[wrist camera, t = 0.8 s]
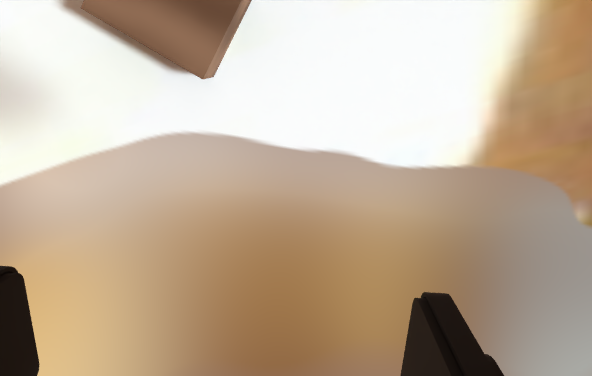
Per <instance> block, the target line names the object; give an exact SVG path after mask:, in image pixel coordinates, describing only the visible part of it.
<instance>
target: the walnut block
mask: <svg viewBox="0 0 592 376" xmlns="http://www.w3.org/2000/svg"><path fill="white" fill-rule="evenodd" d="M250 2H251V0H84V1H83V4H82V7H81V9H83V10H85V11H86V12H88V13H90V14H92V15H93V16H95V17H97V18H98V19H100V20H102V21H104V22H105V23H107V24H109V25H110V26H112V27H114V28H116V29H117V30H119V31H121V32H122V33H124V34H126V35H128V36H129V37H131V38H133V39H134V40H136V41H138V42H140V43H141V44H143V45H145V46H146V47H148V48H150V49H152V50H153V51H155V52H157V53H158V54H160V55H162V56H164V57H165V58H167V59H169V60H170V61H172V62H174V63H176V64H177V65H179V66H181V67H182V68H184V69H186V70H188V71H189V72H191V73H193V74H194V75H196V76H198V77H200V78H201V79H207V78H211V77H214V75H215V73H216V71H217V69H218V67H219V65H220V63H221V61H222V59H223V57H224V55H225V53H226V51H227V49H228V47H229V45H230V43H231V41H232V39H233V37H234V35H235V33H236V31H237V29H238V27H239V25H240V23H241V21H242V19H243V17H244V15H245V13H246V11H247V9H248V6H249V4H250Z"/></svg>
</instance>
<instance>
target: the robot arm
mask: <svg viewBox="0 0 592 376" xmlns="http://www.w3.org/2000/svg"><path fill="white" fill-rule="evenodd" d="M38 371H39V359H38V354H37V348H36V343H35V338H34V332H33V326H32V321H31V316H30V310H29V305H28V300H27V294H26V288H25V283H24V278H23V276H22V275H21V274H19V273H18V271H17V270H16V269H15V268H14V267H9V266H0V376H37V374H38ZM401 376H504V375H503V373H502V371H501V370H500V368H499V367H498V365H497V363H496V362H495V360H494V359H493V358H492V357H491V356H489V355H487V354H484V353H483V351H482V349H481V347H480V346H479V344H478V342H477V341H476V339H475V337H474V336H473V334H472V333H471V331H470V329H469V327H468V325H467V324H466V322H465V320H464V318H463V317H462V315H461V313H460V312H459V310H458V308H457V306H456V305H455V303H454V301H453V300H452V298H451V296H450V295H449V294H445V293H428V292H424V293H423V294H422V296H421V298H415V299H414V301H413V304H412V311H411V316H410V322H409V329H408V334H407V341H406V346H405V352H404V359H403V365H402V370H401Z"/></svg>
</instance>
